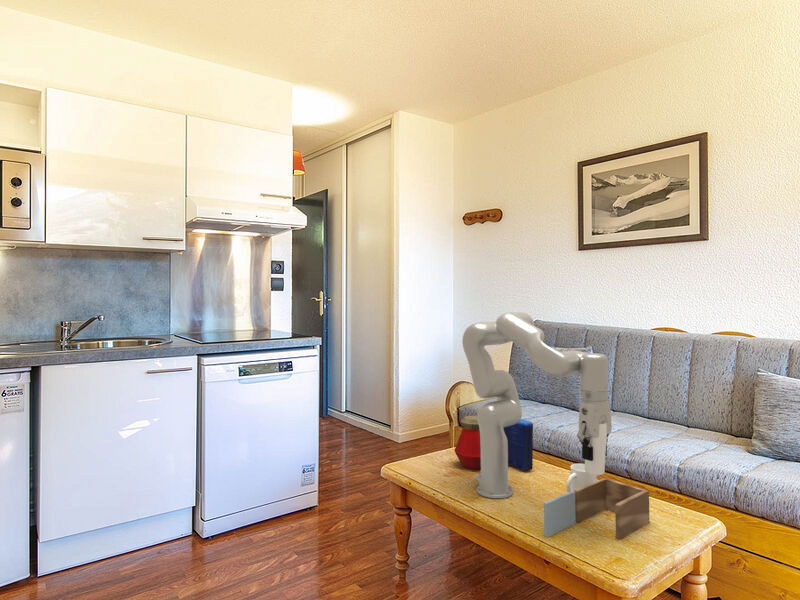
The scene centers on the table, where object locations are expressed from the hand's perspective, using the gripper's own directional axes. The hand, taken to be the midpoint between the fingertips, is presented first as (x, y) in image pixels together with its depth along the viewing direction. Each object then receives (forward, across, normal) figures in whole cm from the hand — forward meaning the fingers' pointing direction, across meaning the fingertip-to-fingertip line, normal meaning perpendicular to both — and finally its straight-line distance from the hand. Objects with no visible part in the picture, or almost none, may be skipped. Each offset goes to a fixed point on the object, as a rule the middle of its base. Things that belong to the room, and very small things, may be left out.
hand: (594, 456), depth 142 cm
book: (+22, +24, +50) cm, 60 cm away
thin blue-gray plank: (+21, -8, +6) cm, 24 cm away
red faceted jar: (+22, +11, +62) cm, 67 cm away
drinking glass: (+5, 0, 0) cm, 5 cm away
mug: (+22, +17, +16) cm, 32 cm away
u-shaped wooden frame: (+21, +9, 0) cm, 23 cm away
